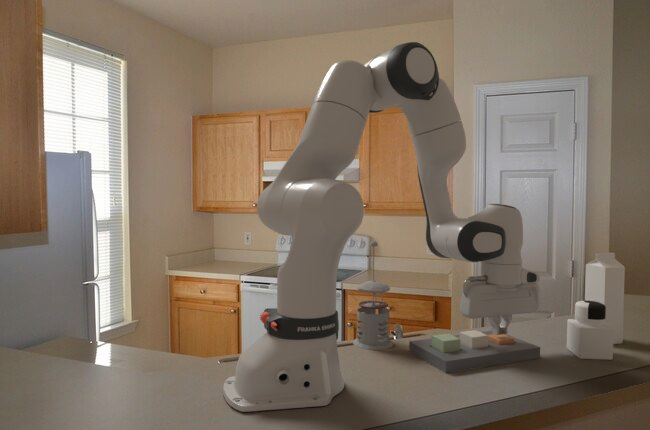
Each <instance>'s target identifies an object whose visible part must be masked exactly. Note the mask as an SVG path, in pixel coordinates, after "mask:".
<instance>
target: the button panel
mask: <svg viewBox="0 0 650 430" xmlns="http://www.w3.org/2000/svg"><path fill="white" fill-rule="evenodd" d="M480 332H481V333H483V334H486V335H492V334H493V333H492V330H488V331H480ZM504 335H507V336H509V337H512V338H514V343H511V344H504V345H497V344H495V343H493V342H490V341H488V347H483V348H476V349H470V348H468V347H466V346H464V345H462V344H460V351H454V352H447V353H442V352H440V351H438V350H436V349H434V348H432V337H431V338H426V339H425V338H424V339H417V340H416V339H415V340H410V341H409V343H408V347H409V348H408V352H410V353H411V354H413V355H415V356H417V358H420V359H422V360H423V361H424V360H425V362H426V361H427V362H426V363H428V364H430V365H431V366H433V367H435V368H436V367H437V368H436V369H438V370H439V371H441V370H442V372H443V373H445V374H447V373H452V372H453V373H454V372H461V371H467V370H472V369H479V368H484V367H485V368H486V367H491V366H492V367H493V366H497V365H504V364H510V363H516V362H523V361H530V360H535V359H540V358H541V347H540V346H538V345H535V344H533V343H529V342H527V341H525V340H522V339H520V338H517V337H514V336H512V335H510V334H508V333H507V334H504ZM454 336H455V337H457V338H459V337H460V334H456V335H455V334H454Z"/></svg>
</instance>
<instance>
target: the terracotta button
mask: <svg viewBox="0 0 650 430" xmlns="http://www.w3.org/2000/svg"><path fill="white" fill-rule="evenodd" d="M507 335H508V334H507ZM507 335H504V334H502V335H495V334H492V335H488V341H490V342H493V343H495V344H497V345H504V344H511V343H514V338H512V337H513V336H512V337H509V336H507Z"/></svg>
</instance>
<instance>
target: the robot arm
mask: <svg viewBox="0 0 650 430" xmlns="http://www.w3.org/2000/svg"><path fill="white" fill-rule="evenodd" d="M315 94H316V95H315V96H314V99H313V101H312V104H311V108H310V109H309V113H308V115H307V117H306V121H305V124H304V127H303V128H302V130H301V131H302V132H301V135H300V137H299V139H298V142H297V144H296V145H295V147H294V149H293V151H292V152H291V154H290V155H289V157H288V158H287V160H286V162H285V163H284V165H283V167H282V168H281V169H280V172H278V173H277V176H276V177H275V178H274V180H273V181H272V182H271V183H270V184H269V185H268V186H267V187H265V188H264V189H263V191H262V192H261V193H260V194H259V196H258V199H257V204H256V205H257V206H256V208H257V209H256V210H257V214H258V218H259V220H260V221H261V223H262V224H263V225H264V226H265V227H267V228H268V229H270V230H271V231H274V232H275V233H276V234H277V233H278V234H279V235H282V236H288V237H289V236H290V237H291V242H290V246H289V251H288V254H287V257H286V259H285V261H284V262H283V263H282V264H281V265H279V268H278V271H277V274H276V276H277V279H276V287H277V288H276V291H277V292H276V301H277V302H276V305H277V307H276V309H277V310H276V311H275V312H273V313H272V314H270V313H269V312H268V311H263V312H261V314H260V316H259V320H260V321H261V323H263V324H264V325H266V332H265V334H263V335H262V336H261V337H260V338H258V339H257V340H256V341H255V342H253V343H251V345H250V346H249V347H248V348H246V349H245V350H243V351H242V352H241V354H240V355H239V358H238V360H237V364H236V368H235V375H233V376H229V377H228V378H227V379H225V381H224V383H223V387H222V394H223V397H224V399H225V401H226V402H227V404H228V405H229V406H230V407H231V408H233V409H234V410H237V411H239V412H242V413H243V412H245V413H247V412H259V411H260V412H261V411H262V412H263V411H274V410H287V409H300V408H311V407H323V406H328V405H329V404H330V403H331V402H332V399H333V398H334V397H335V396H337V395H338V394H340V393H341V392H342V391H343V389H344V388H345V381H344V378H343V375H342V371H341V367H340V364H341V363H340V360H339V353H338V352H339V351H338V339H339V331H340V329H339V327H340V326H339V325H340V323H339V312H338V310H337V281H338V280H337V277H338V269H339V264H340V260H341V257H342V254H343V251H344V248H345V246H346V244H347V242H348V241H349V239H350V238H351V237H352V236H353V235H354V234H355V233H356V232H357V230H358V229H359V228H360V227H361V224H362V222H363V219H364V216H365V215H364V213H365V206H364V201H363V198H362V195H361V194H360V192H359V190H358V189H357V188H356V187H355V186H354V185H352V184H350V183H347V182H344V181H341V180H338V179H337V178H338V176H340V174H341V173H342V172H344V170H346V169H347V168H349V167H350V165H351V164H352V163H353V162H354V160H355V158H356V156H357V151H358V150H359V145H360V142H361V139H362V136H363V133H364V131H365V128H366V124H367V121H368V117H369V114H375V113H380V112H383V111H384V110H390V109H392V108H399V109H400V111H402V113H403V114H404V116H405V117H406V121H407V126H408V131H409V134H410V137H411V139H412V143H413V144H412V145H413V148H414V152H415V157H416V162H417V164H416V167H417V177H418V182H419V183H418V184H419V187H420V188H419V189H420V192H421V194H420V195H421V198H422V203H423V207H424V212H425V217H426V218H425V219H426V229H425V240H426V245H427V247H428V249H429V251H430V252H431V253H432V254H433V255H435V256H436V257H439V258H441V259H451V260H452V259H454V260H457V261H463V262H466V263H479V262H480V263H481V266H480V275H477V276H475V275H474V276H473V275H471V276H468V278H467V279H465V281H463V284H462V292H461V293H462V294H461V298H460V307H459V309H460V310H459V311H460V313H461V315H462V316H463V317H465V318H468V319H472V320H473V319H482V318H488V319H487V320H488V321H489V323H490V325H491V331H492V333H493V334H495V335H502V334H507V335H508V327H509V325H510V324H511V322H512V321H513V315H524V314H531V313H534V314H535V313H537V312H538V310H539V309H540V306H541V305H540V302H541V294H540V293H541V292H540V286H539V282H540V277H541V276H540V274H539V273H538V272H536V271H532V270H529V269H527V268H523V259H522V255H521V254H522V253H521V252H522V248H523V244H524V228H523V227H524V224H523V219H522V214H521V211H520V209H518V208H516V207H514V206H513V205H512V206H511V205H508V204H500V203H488V204H487V205H485V207H484V208H483V209H482V210H481V211H479V212H477V213H476V214H474V215H472V216H469V217H467V218H461V217H460V218H459V217H458V216H456V214H455V213H454V212H453V208H452V204H451V199H450V192H449V189H448V182H447V181H448V175H449V173H450V171H451V170H452V169H453V168H454V167H455V166H456V165H457V164H458V163H459V162H460V160H461V159H462V157H463V156H464V154H465V151H466V149H467V139H466V133H465V127H464V125H463V122H462V117H461V115H460V112H459V108H458V106H457V103H456V101H455V98H454V96H453V94H452V93H451V90H450V88H449V86H448V85H447V83H446V82H445V80H444V79H443V78H440V73H439V68H438V64H437V62H436V59H435V57H434V55H433V54H432V52H431V51H430V50H429V49H428V47H426V46H425V45H424V44H422V43H420V42H416V41H410V42H405V43H401V44H398V45H396V46H394V47H393V48H392V49H389V50H386V51H384V52H383V53H380V54H377V55H376V56H374V57H373V58H371V59H370V60H368V61H367V62H365V63H364V64H362V63H361V62H359V61H355V60H350V59H345V60H339V61H338V62H335V63H334V64H332V65H331V67H330V68H329V70H328V71H327V73H326V74H325V76H324V78H323V80H322V81H321V83H320V85H319V88H318V90H317V92H316V93H315ZM500 318H502V319H501V321H500ZM498 321H500V323H498Z"/></svg>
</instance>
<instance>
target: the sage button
mask: <svg viewBox="0 0 650 430" xmlns="http://www.w3.org/2000/svg"><path fill="white" fill-rule="evenodd" d="M431 338H432V348H434V349H436V350H438V351H440V352H442V353H447V352H454V351H460V339H459V338H457V337H455V335H453V334H450V333H440V334H434V335H433V334H432V335H431Z"/></svg>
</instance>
